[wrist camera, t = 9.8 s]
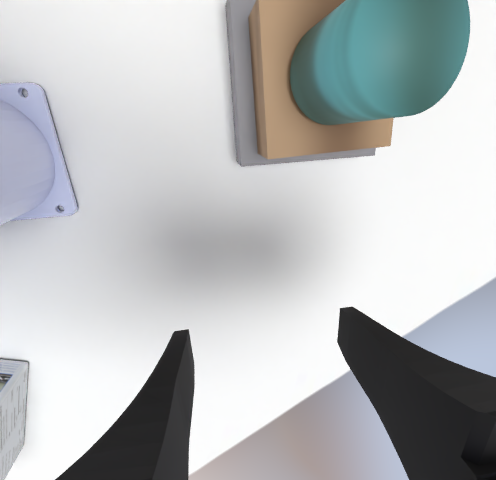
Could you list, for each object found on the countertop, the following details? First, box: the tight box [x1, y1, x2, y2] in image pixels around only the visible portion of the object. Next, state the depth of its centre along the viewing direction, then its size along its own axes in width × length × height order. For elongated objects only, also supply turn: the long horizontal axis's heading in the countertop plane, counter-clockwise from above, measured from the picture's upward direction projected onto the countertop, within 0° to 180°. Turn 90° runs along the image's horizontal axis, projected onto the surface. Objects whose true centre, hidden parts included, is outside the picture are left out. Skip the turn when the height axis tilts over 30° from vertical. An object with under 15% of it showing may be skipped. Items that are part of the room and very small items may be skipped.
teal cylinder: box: [290, 0, 470, 125], centre depth 12 cm, size 4×4×5 cm
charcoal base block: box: [226, 0, 376, 166], centre depth 18 cm, size 9×9×3 cm
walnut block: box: [248, 0, 393, 159], centre depth 16 cm, size 7×7×3 cm
